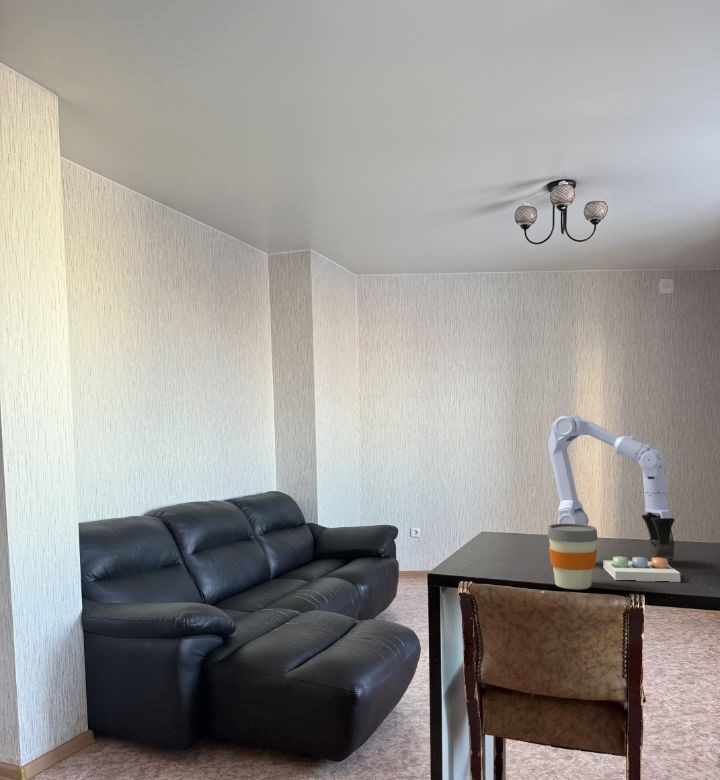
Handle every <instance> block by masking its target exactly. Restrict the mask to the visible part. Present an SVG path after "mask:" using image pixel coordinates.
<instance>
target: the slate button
mask: <svg viewBox="0 0 720 780" xmlns="http://www.w3.org/2000/svg"><path fill="white" fill-rule="evenodd" d="M648 560H649V559H648V557H644V556H643V557H642V556H632V558H631V561H632V567H633V568H648Z"/></svg>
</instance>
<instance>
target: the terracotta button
mask: <svg viewBox="0 0 720 780" xmlns="http://www.w3.org/2000/svg"><path fill="white" fill-rule="evenodd" d="M651 561H652V568H653V569H668V562H667V559H666V558H660V557H654V556H653V557H651Z"/></svg>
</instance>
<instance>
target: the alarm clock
mask: <svg viewBox="0 0 720 780" xmlns="http://www.w3.org/2000/svg"><path fill="white" fill-rule="evenodd" d="M649 537H650V536H649ZM648 540H649V541H650V546H651V547H650V548H651V551H652V554H653V558H654V557H660V558H666V559H667V562H668V565H669V566H670V561H673V559H674V557H675V542H674V534H673V531H672V529H671V531H670V538H669V543H668V544H660V543H659V540H651V537H650V538H649V539H648ZM670 567H671V566H670Z"/></svg>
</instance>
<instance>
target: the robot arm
mask: <svg viewBox="0 0 720 780" xmlns="http://www.w3.org/2000/svg"><path fill="white" fill-rule="evenodd" d="M579 436H591V437H592V438H594V439H596V440H598V441H601V442H603V443H605V444H607V445H610V446H612V447H613V448H614V449H615V450H614V451H615V453H616V454H618V455H620V456H621V457H622V458H623V457H624V458H625V459H628V460H629V461H631V462H634V463H635V464H638V465H639V466H640V468H641V470H642V480H643V493H644V494H643V496H644V505H645V506H644V507H645V508H644V512H645V513H646V514H641V517H642V520H643V521H644V523H645V525H646V527H647V530H648V534H649V537H651V540H659V543H660V544H668V543H669V538H670V531H671V530H672V527H673V524H674V523H675V518H674V517H670V511H673V507H669V506H668V494H667V486H666V485H667V484H666V476H665V470H664V469H665V468H664V465H665V464H666V455H664V454H665V453H663V452H662V451H661V450H660V449H659V448H651V445H650V444H648V443H647V444H645V443H642V442H640V441H638V440H636V437H635V436H633V435H623V436H618V435H617V434H614V433H613V432H611V431H609V430H607V429H605V428H603V427H602V426H600V425H598V424H597V423H594V422H593V421H590V420H588V419H586V418H582V417H581V416H578V415H570V416H569V415H562V416H559V417H558V418H557V419H556V420H554V422H553V423H552V425H551V432H550V435H549V439H548V443H547V448H548V453H549V456H550V458H549V459H550V460H551V467H552V471H553V476H554V480H555V485H556V489H557V493H558V494H557V495H558V498H559V505H558V509H557V512H558V517H557V524H582V525H589V521H590V520H589V516H588V514H587V513H586V512H585V510H584V507H583V504H582V503H581V501H580V500H579V498H578V492H577V488H576V485H575V480H574V476H573V471H572V467H571V462H570V457H569V453H568V447H569V446H570V445H571V443H572V442H573V440H575V439H576V438H578V437H579Z"/></svg>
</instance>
